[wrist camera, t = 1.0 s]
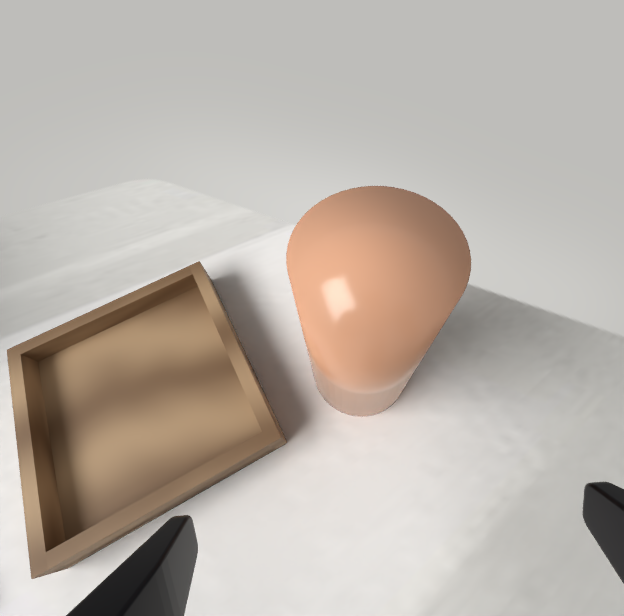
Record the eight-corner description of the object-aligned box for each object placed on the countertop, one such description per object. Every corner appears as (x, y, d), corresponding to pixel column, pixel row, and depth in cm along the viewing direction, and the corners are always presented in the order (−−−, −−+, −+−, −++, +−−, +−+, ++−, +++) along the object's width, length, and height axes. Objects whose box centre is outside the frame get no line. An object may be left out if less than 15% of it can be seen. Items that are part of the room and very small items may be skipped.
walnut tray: (287, 442, 21) (281, 437, 19) (67, 568, 19) (31, 578, 17) (211, 279, 27) (199, 261, 25) (36, 362, 25) (6, 349, 23)
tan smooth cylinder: (424, 386, 22) (512, 278, 11) (342, 434, 21) (343, 372, 10) (373, 314, 25) (399, 164, 13) (298, 353, 24) (257, 229, 12)
